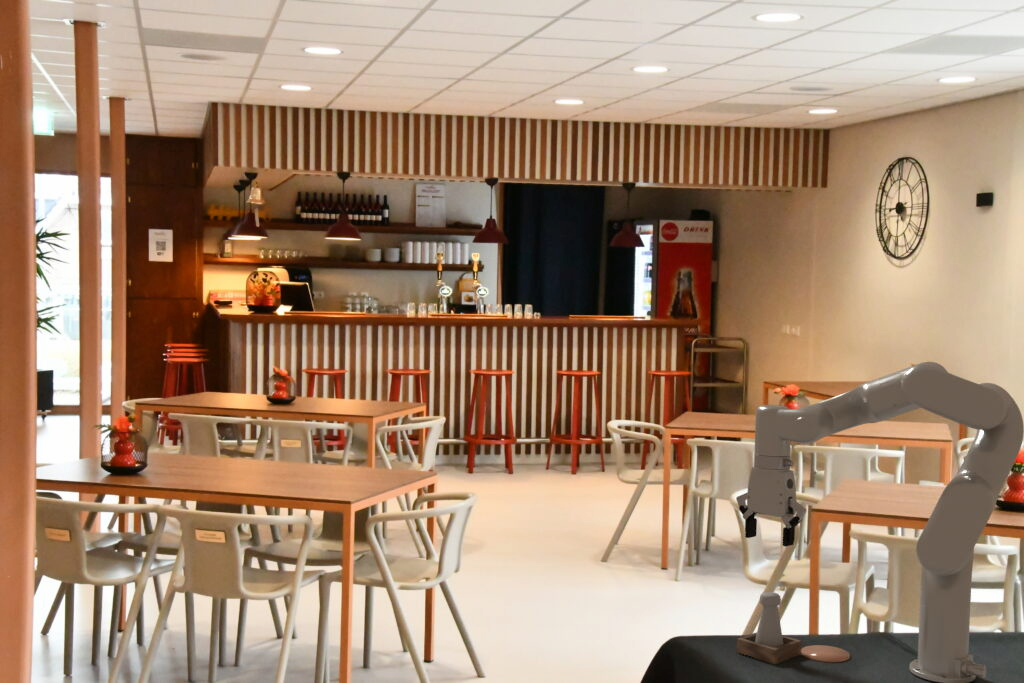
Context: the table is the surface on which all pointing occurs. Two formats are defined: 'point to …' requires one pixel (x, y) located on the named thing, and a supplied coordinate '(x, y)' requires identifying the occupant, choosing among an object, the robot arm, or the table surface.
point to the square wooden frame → (769, 649)
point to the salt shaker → (769, 621)
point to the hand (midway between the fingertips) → (769, 541)
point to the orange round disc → (825, 653)
